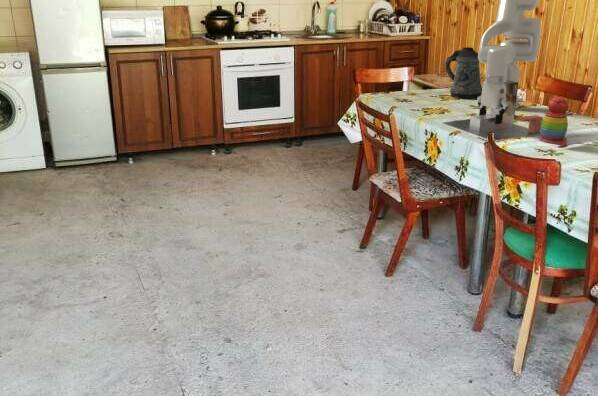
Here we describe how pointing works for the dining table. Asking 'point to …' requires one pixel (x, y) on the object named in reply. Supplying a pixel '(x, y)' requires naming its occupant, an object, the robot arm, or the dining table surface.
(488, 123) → the link
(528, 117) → the keeper
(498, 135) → the base plate
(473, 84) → the beer stein
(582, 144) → the dining table surface
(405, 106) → the dining table surface
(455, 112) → the dining table surface
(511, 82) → the coffee box
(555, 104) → the stacking bear
